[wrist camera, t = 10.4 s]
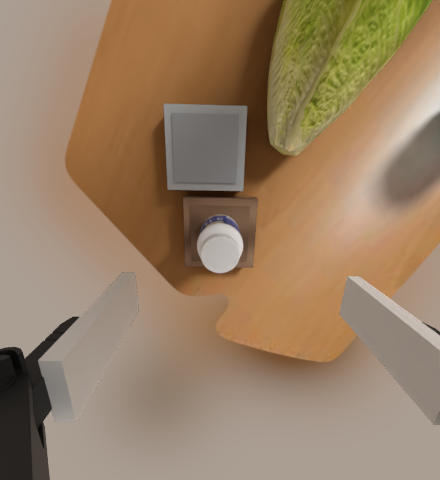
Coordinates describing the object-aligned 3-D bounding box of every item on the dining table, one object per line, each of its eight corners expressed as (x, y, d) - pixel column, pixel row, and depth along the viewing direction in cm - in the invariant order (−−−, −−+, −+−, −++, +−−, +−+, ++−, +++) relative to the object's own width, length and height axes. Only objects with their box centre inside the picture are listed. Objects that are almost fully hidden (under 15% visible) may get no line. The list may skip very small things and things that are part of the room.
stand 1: (168, 110, 29) (162, 102, 26) (244, 112, 29) (247, 105, 26) (172, 188, 32) (167, 189, 29) (240, 189, 32) (243, 191, 29)
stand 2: (186, 195, 32) (182, 197, 29) (254, 196, 32) (258, 199, 29) (187, 259, 35) (184, 267, 32) (250, 260, 35) (253, 268, 32)
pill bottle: (220, 205, 29) (221, 218, 21) (246, 232, 31) (257, 255, 22) (192, 232, 31) (183, 255, 22) (219, 257, 32) (220, 288, 23)
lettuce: (218, 123, 25) (325, 159, 19) (336, -198, 17) (572, -298, 12) (260, 151, 35) (339, 181, 29) (347, -44, 27) (476, -57, 22)
